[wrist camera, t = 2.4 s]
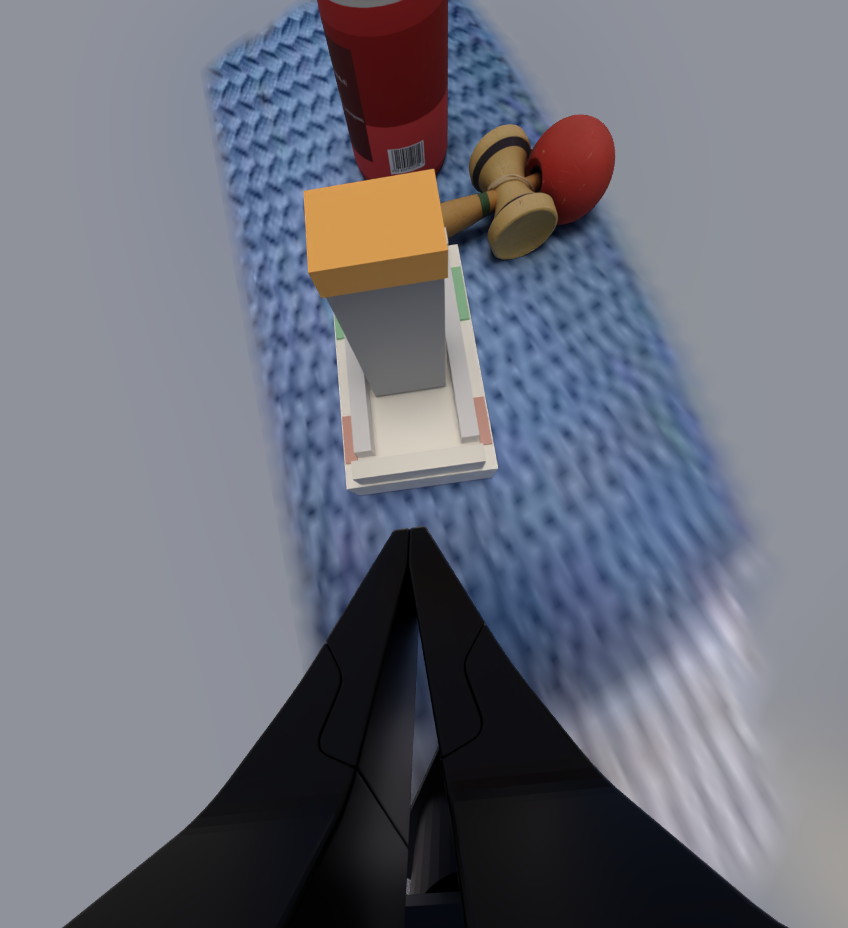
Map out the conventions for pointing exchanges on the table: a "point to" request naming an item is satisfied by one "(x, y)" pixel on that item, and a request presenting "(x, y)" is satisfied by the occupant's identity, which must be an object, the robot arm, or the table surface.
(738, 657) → the table surface
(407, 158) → the canned food
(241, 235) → the table surface
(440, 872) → the robot arm
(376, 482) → the railed base plate
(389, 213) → the handle
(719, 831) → the table surface
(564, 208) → the kendama
